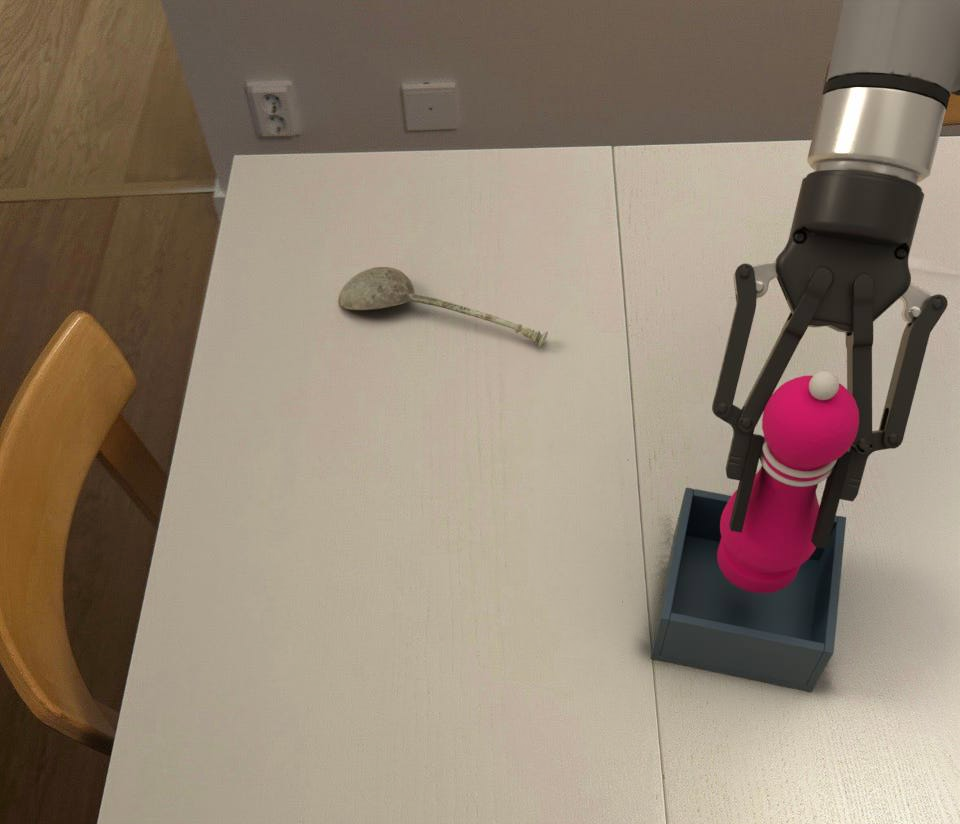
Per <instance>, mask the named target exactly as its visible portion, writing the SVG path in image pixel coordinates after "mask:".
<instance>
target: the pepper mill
mask: <svg viewBox="0 0 960 824" xmlns="http://www.w3.org/2000/svg"><path fill="white" fill-rule="evenodd" d="M761 423H762V424H761V429H762V432H763V437H764V441H763V445H762V450H761V454H760V458H759V462H760V463H761V466H760V468H759V470H758V471H756V475H755V479H754V483H753V488H752V492H751V496H750V500H749V505H748V509H747V513H746V517H745V521H744V526H743V530H742V533H740V532H735V531H731V530H730V527H729V523H730V519H731V515H732V510H733V506H734V502H735V497H736V493H737V489H736V490H735V491H734V492H733V494H732V495H730V496H731V497H730V499H729V501H728V502H727V504H726V506H725V508H724V510H723V513H722V516H721V521H720V533H721V536H722V538H721V541H720V544H719V547H718V552H717V560H718V564H719V567H720V569H721V571H722V573H723V574H724V576H725V577H726V578H727V579H728V580H729V581H730V582H731V583H732V584H734V585H736V586H738V587H739V588H741V589H743V590H747V591H750V592H753V593H772V592H775V591H778V590H781V589H783V588H785V587H786V586H788V585H789V584H790V583H791V582H792V581H793V580H794V578H795V577H796V575H797V573H798V570H799V568H800V566H801V564H803V563H804V562H805V561H806V560H807V559H809V557H810V556H811V555H812V554H813V552H814V551H815V549H816V547H815V546H814V544H813V543H812V542H811V539H812V535H813V531H814V527H815V523H816V519H817V515H818V511H819V507H820V503H819V500H818V496H817V490H818V485H819V484H821V483H822V482H823V481H826V480H827V477H829V475H830V474H831V472H832V471H833V469H834V465H835V464H836V462H837V459H838V458H840V457H841V456H842V455H843V454H845V453H846V452H847V451H848V449H849V448H850V447H851V445H852V444H853V442H854V440H855V438H856V435H857V432H858V427H859V410H858V407H857V404H856V401H855V399H854V398H853V396H852V394H851V393H850V392H849V391H848V390H847V387H845V385H843V384H842V383H841V382H839V379H838V377H837V375H836V374H834V373H833V372H832V371H828V370H822V371H821V370H820V371H818V372H816V373H815V374H813V375H811V374H810V375H802V376H798V377H795V378H792V379H789V380H787V381H786V382H784V383H783V384H781V385H780V386H779V387H778V388H776V389H775V390H774V392H773V394H772V396H771V397H770V399H769V401H768V403H767V404H766V407H765V409H764V411H763V413H762V416H761Z"/></svg>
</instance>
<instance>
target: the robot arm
mask: <svg viewBox="0 0 960 824" xmlns="http://www.w3.org/2000/svg"><path fill="white" fill-rule="evenodd" d="M951 95H954V96H960V0H843V1H842V7H841V11H840V16H839V21H838V25H837V29H836V34H835V39H834V44H833V49H832V52H831V58H830V63H829V67H828V71H827V76H826V80H825V85H824V87H823V92H822V95H821V98H820V103H819V108H818V112H817V116H816V120H815V124H814V128H813V133H812V137H811V141H810V145H809V149H808V153H807V159H806V161H807V164H808V165H809V167H810V168H811V169H812V170H813V171H812V172H810V173H808V174H806V176H805V177H803V178H802V180H801V184H800V189H799V192H798V197H797V201H796V206H795V210H794V214H793V219H792V223H791V227H790V231H789V235H788V239H787V242H786V244H785V246H784V248H783V250H782V251H781V252H780V253H779V254H778V255H777V257H776V259H775V260H774V261H768V262H763V263H758V264H757V263H756V264H753V265H752V264H750V263H742V264H740V265H739V266H737V267H736V269H735V271H734V273H733V285H734V294H735V308H734V312H733V316H732V320H731V324H730V329H729V333H728V337H727V342H726V345H725V350H724V355H723V359H722V362H721V367H720V371H719V375H718V380H717V384H716V388H715V393H714V397H713V400H712V405H711V411H712V414H713V415H714V416H715V417H717V418H718V419H720V420H721V421H723V422H725V423H727V424H728V425H730V427H731V428H732V432H733V433H732V438H731V442H730V447H729V451H728V452H729V453H728V455H727V460H726V465H725V469H724V470H725V474H726V478H727V479H729V480H734V481H738V485H737V489H736V490H737V493H736V497H735V502H734V506H733V510H732V515H731V519H730V523H729V527H730V530H731V531H735V532H740V533H742V530H743V526H744V521H745V517H746V513H747V509H748V505H749V500H750V496H751V492H752V488H753V483H754V479H755V475H756V473H757V472H758V471H757V470H758V466H759V462H760V454H761V450H762V445H763V441H764V435H762V434H757V433H754V432H755V429H756V427H757V426H758V423H759V421H760V419H761V418H762V416H763V412H764V409H765V407H766V404H767V403H768V401H769V399H770V397H771V396H772V394H773V393H774V392H775V391H776V389H777V386H778V385H779V382H780V381H781V378H783V375H784V373H785V370H786V369H787V367H788V365H789V363H790V361H791V360H792V357H793V355H794V353H795V352H796V350H797V347H798V346H799V344H800V342H801V341H802V338H803V337H804V335H805V333H806V332H807V330H808V328H809V327H810V328H823V327H827V328H829V329H832V330H834V331H836V332H839V333H844V334H845V347H846V389H847V390H848V391H849V392H850V393H851V394H852V396H853V398H854V399H855V401H856V404H857V407H858V410H859V427H858V432H857V435H856V438H855V440H854V442H853V444H852V445H851V447H850V448H849V449H848V451H847V452H846V453H845V454H843V455H842V456H841V457H840V458H838V459H837V462H836V464H835V465H834V469H833V471H832V472H831V474H830V475H829V477H827V478H826V479H825V483H824V488H823V492H822V494H821V495H822V496H821V500H820V503H819V511H818V515H817V519H816V523H815V527H814V531H813V535H812V539H811V542H812V543H813V544H814V546H815V547H818V548H823V549H827V547H828V543H829V539H830V535H831V532H832V528H833V524H834V520H835V516H836V515H837V513H838V509H839V504H840V501H846V502H847V501H848V502H854V500H856V498H857V497H858V495H859V492H860V488H861V483H862V480H863V476H864V472H865V468H866V466H867V465H866V464H867V461H868V458H869V456H871V455H872V454H873V453H874V452H877V451H883V450H889V449H890V450H892V449H898V448H899V447H900V446H902V443H903V441H904V437H905V433H906V429H907V425H908V421H909V417H910V414H911V410H912V406H913V403H914V398H915V393H916V390H917V386H918V383H919V378H920V374H921V371H922V367H923V362H924V358H925V354H926V350H927V348H928V347H927V346H928V343H929V340H930V335H931V333H932V331H933V329H934V328H935V326H936V325H937V323H938V322H939V321H940V318H941V317H942V316H943V314H944V313H945V312H946V309H947V307H948V298H947V297H946V296H945V295H943V294H939V293H938V294H933V293H930V292H929V291H928V290H925V289H923V288H921V287H919V286H918V285H917V284H915V283H913V282H911V281H912V274H911V271H910V266H909V257H910V252H911V248H912V244H913V241H914V236H915V233H916V229H917V225H918V222H919V218H920V214H921V211H922V206H923V202H924V199H925V193H924V192H923V189H922V187H921V186H920V185H918V183H921V182H924V180H926V179H927V178H929V177H930V176H931V171H932V169H933V165H934V160H935V156H936V152H937V148H938V145H939V140H940V136H941V131H942V128H943V124H944V119H945V115H946V112H947V110H948V106H949V102H950V98H951ZM773 279H774V280H775V279H776V281H777V282H778V285H779V287H780V289H781V291H782V294H783V296H784V298H785V301H786V303H787V305H788V308H789V311H790V312H789V314H788V316H787V318H786V320H785V322H784V324H783V326H782V329H781V331H780V333H779V335H778V337H777V339H776V341H775V343H774V345H773V347H772V349H771V350H770V353H769V355H768V356H767V359H766V361H765V363H764V364H763V367H762V368H761V370H760V373H759V374H758V376H757V378H756V380H755V382H754V384H753V386H752V387H751V390H750V391H749V393H748V396H747V398H746V400H745V401H744V404H743V406H742V407H741V408H740V407H738V406H737V405H735V404H734V401H735V398H736V397H735V396H736V391H737V389H738V383H739V380H740V376H741V372H742V369H743V364H744V359H745V355H746V351H747V346H748V342H749V339H750V335H751V330H752V327H753V322H754V318H755V313H756V309H757V302H758V301H757V299H761V298H762V297H763V296H765V295H766V293H767V292H768V288H769V284H770V282H771V281H772V280H773ZM898 300H901V301H902V303H903V308H902V312H901V318H902V320H903V322H905V323H907V324H906V325H905V327H904V330H903V331H902V336H901V338H900V342H899V347H898V350H897V354H896V358H895V362H894V366H893V369H892V370H893V371H892V375H891V377H890V381H889V382H890V383H889V387H888V390H887V393H886V399H885V403H884V406H883V407H884V408H883V411H882V415H881V418H880V423H879V425H878V429H877V430H873V345H874V322H875V321H876V320H877V319H878V318H879V317H881V316H882V315H883V314H884V313H885V312H886V311H888V310H889V308H891V307H892V306H893V305H894V304H895V303H896V302H897V301H898Z"/></svg>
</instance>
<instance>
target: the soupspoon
mask: <svg viewBox="0 0 960 824" xmlns="http://www.w3.org/2000/svg"><path fill="white" fill-rule="evenodd" d="M409 302H414V303H419V304H425V305H428V306H434V307H436V308H442V309H445V310H449V311H453V312H457V313H459V314H463V315H467V316H471V317H474V318H476V319H477V318H478V319H480V320H483V321H487V322H490V323H493V324H495V325H500V326H503V327H504V328H509V329H511V330H514V332H515V333H516V334H518V333H521V334H522V336H524V337H525V338H528V339H529V340H532V342H533V343H538V349H541V348H542V346H543V345H544V343H545V342H546V339H547V337H548V334H549V332H548V331H547V330H545V332H544V333H541V331H540V330H536V331H535V329H531V328H530V327H523V324H522V323H519V324H517V323H515V322H512V321H510V320H506V319H505V318H501V317H498V316H495V315H492V314H489V313H486V312H483V311H479V310H476V309H473V308H469V307H466V306H462V305H459V304H455V303H452V302H449V301H446V300H443V299H439V298H435V297H432V296H426V295H423V294H417V293H416V292H415V288H414V284H413V282H412V281H411V279H410V278H409V276H407V275H406V274H405V273H404V272H403V271H401V270H400V269H397V268H395V267H389V266H376V267H371V268H367V269H365V270H363V271H360V272H358V273H357V274H356V275H353V277H351V278H350V279H349V280H348V281H347V282H346V283H345V284H344V285H343V287H342V288H341V290H340V293H339V295H338V304H339V306H340V307H341V308H343V309H345V310H349V311H372V310H379V309H386V308H390V307H395V306H399V305H404V304H406V303H409Z"/></svg>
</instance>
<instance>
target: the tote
mask: <svg viewBox="0 0 960 824" xmlns="http://www.w3.org/2000/svg"><path fill="white" fill-rule="evenodd" d="M731 496H732V495H730V494H723V493H718V492H714V491H713V492H712V491H708V490H704V489H703V490H702V489H699V488H697V489H696V488H693V487H685V490H684V493H683V496H682V502H681V504H680V509H679V513H678V517H677V521H676V525H675V530H674V533H673V538H672V545H671V550H670V554H669V558H668V565H667V569H666V575H665V580H664V585H663V590H662V594H661V601H660V605H659V610H658V616H657V620H656V626H655V631H654V637H653V640H652V641H653V642H652V647H651V652H650V656H649V658H650V659H651V660H656V661H661V662H667V663H671V664H676V665H680V666H685V667H690V668H695V669H700V670H704V671H708V672H709V671H710V672H713V673H718V674H724V675H729V676H731V677H732V676H733V677H738V678H742V679H747V680H751V681H757V682H761V683H767V684H770V685H776V686H780V687H786V688H790V689H795V690H801V691H805V692H810V693H812V692H813V691H814V689H815V687H816V685H817V684H818V683H819V680H820V678H821V677H822V675H823V673H824V672H825V669H826V667H827V666H828V664H829V663H830V660H831V658H832V657H833V655H834V651H835V643H836V633H837V632H836V631H837V619H838V611H839V598H840V589H841V579H842V578H841V577H842V569H843V559H844V558H843V556H844V547H845V535H846V525H847V516H843V515H837V514H836V516H835V520H834V524H833V528H832V532H831V535H830V539H829V543H828V547H827V549H823V548H818V547H816V549H815V551H814V552H813V554H812V555H811V556H810V557H809V559H807V560H806V561H805V562H804V563H803V564H801V566H800V568H799V570H798V573H797V575H796V577H795V578H794V580H793V581H792V582H791V583H790V584H789V585H788V586H786V587H785V588H783V589H781V590H778V591H775V592H772V593H753V592H750V591H747V590H743V589H741V588H739V587H738V586H736V585H734V584H732V583H731V582H730V581H729V580H728V579H727V578H726V577H725V576H724V574H723V573H722V571H721V569H720V567H719V564H718V560H717V552H718V547H719V544H720V541H721V538H722V536H721V533H720V521H721V516H722V513H723V510H724V508H725V506H726V504H727V502H728V501H729V499H730V497H731Z"/></svg>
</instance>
